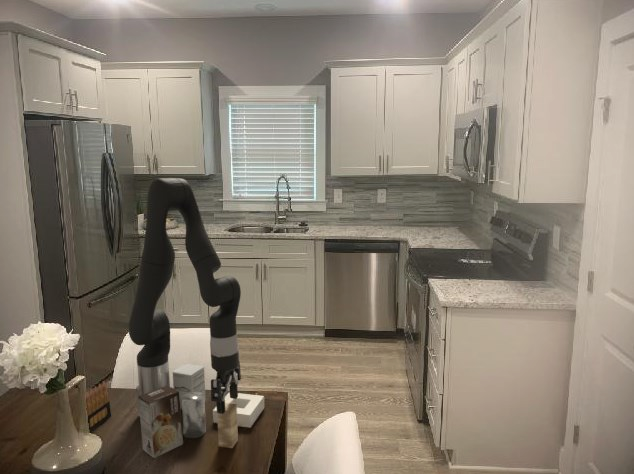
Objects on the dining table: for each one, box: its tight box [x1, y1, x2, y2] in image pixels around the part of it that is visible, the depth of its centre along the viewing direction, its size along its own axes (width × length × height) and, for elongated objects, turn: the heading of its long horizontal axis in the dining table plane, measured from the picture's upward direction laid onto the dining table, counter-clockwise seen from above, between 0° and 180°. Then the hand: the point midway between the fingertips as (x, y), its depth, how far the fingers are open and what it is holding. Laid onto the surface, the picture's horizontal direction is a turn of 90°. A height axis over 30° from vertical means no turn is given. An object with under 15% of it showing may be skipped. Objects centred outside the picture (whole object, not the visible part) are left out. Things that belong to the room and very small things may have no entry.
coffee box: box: [138, 385, 184, 459], centre depth 138 cm, size 9×6×16 cm
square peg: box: [217, 403, 239, 449], centre depth 140 cm, size 4×4×11 cm
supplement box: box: [172, 363, 206, 410], centre depth 161 cm, size 7×7×13 cm
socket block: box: [212, 391, 265, 428], centre depth 155 cm, size 12×12×4 cm
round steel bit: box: [181, 392, 207, 439], centre depth 145 cm, size 6×6×11 cm
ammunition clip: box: [85, 380, 112, 433], centre depth 150 cm, size 11×2×12 cm, turn 164°
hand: (227, 405), depth 139 cm, fingers open, 8 cm apart
